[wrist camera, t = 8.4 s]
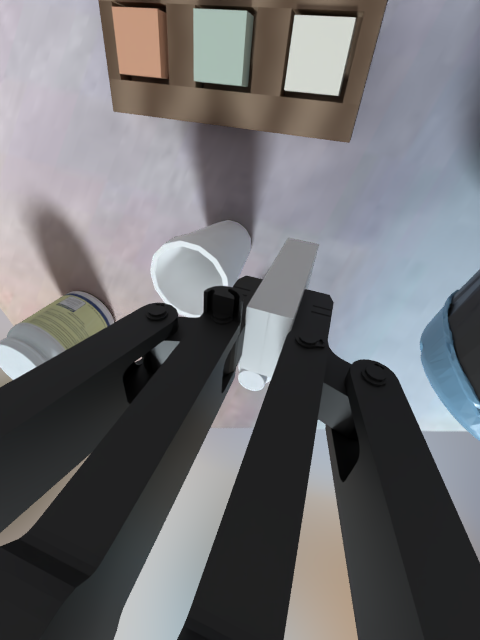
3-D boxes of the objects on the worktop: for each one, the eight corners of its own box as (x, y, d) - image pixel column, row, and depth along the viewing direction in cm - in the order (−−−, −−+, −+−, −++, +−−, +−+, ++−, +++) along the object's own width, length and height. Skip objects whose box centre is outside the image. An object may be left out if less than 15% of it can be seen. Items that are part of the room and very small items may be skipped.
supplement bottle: (252, 321, 49) (231, 362, 41) (286, 326, 47) (270, 370, 39) (253, 348, 52) (233, 390, 44) (285, 353, 50) (270, 398, 42)
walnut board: (395, -31, 24) (399, -46, 22) (350, 140, 31) (349, 142, 29) (113, -34, 30) (92, -46, 28) (129, 111, 37) (113, 111, 35)
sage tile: (253, 16, 27) (246, 10, 25) (247, 86, 30) (241, 85, 28) (203, 14, 28) (193, 8, 26) (202, 82, 31) (193, 80, 29)
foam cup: (211, 195, 40) (158, 224, 29) (272, 227, 39) (241, 267, 29) (193, 255, 46) (145, 296, 35) (247, 283, 45) (213, 332, 35)
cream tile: (356, 23, 25) (355, 17, 24) (339, 96, 28) (338, 95, 27) (298, 20, 26) (294, 14, 25) (288, 91, 29) (284, 90, 28)
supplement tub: (62, 280, 59) (-25, 328, 46) (115, 300, 57) (40, 356, 44) (72, 327, 66) (1, 380, 53) (120, 346, 64) (57, 405, 51)
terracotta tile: (168, 14, 29) (157, 8, 28) (170, 79, 32) (161, 77, 31) (124, 12, 30) (111, 6, 29) (131, 75, 33) (119, 73, 32)
